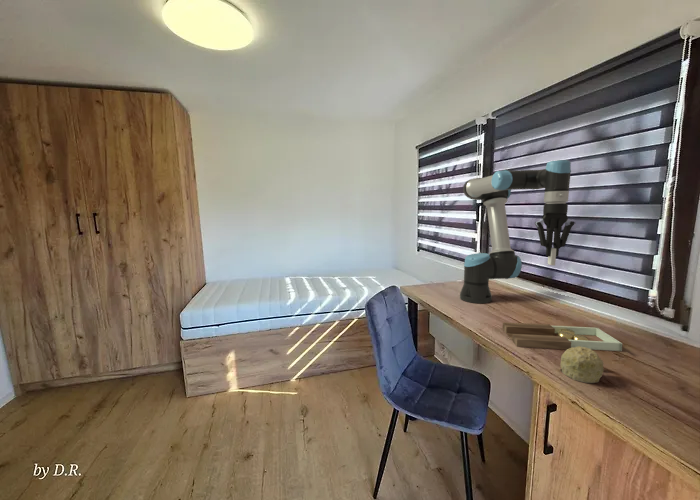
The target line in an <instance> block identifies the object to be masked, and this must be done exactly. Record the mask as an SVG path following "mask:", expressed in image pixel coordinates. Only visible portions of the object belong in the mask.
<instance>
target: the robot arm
mask: <svg viewBox="0 0 700 500" xmlns="http://www.w3.org/2000/svg"><path fill="white" fill-rule="evenodd" d="M571 163H572V162H571V161H570V160H569V159H560V160H550V161H548V162H547V163H546V166H545V168H543V169H528V170H527V169H523V170H506V169H505V170H497V171H495V172H494V174H492V175H489V176H484V177H476V178H471V179H469V180H466V182H465V183H464V185H463V188H462V191H463V194H464V196H465V197H467V198H468V199H470V200H475V201H482V203H483V206H485V207H486V210H487V219H488V227H489V236H490V243H491V251H490V252H489V253H486V252H483V253H482V252H477V253H471V254H467V256H465V257H464V263H463V266H464V267H463V271H464V272H463V276H464V277H463V286H462V288H461V291H460V293H459V299H460V300H462V301H463V302H467V303H472V304H487V303H488V304H489V303H491V302H492V301H493V296H492V293H491V289H490V286H489V280H503V279H504V280H509V279H515V278H517V277H518V276H519V275H520V273H521V272H522V264H523V263H522V260H521V258H520V256H519V255H516V252H515V250H514V249H512V248H511V247H512V246H511V239H510V234H509V227H508V226H509V225H508V218H507V211H506V203H507V202H508V199H509V198H510V197H511V195H512V194H511V193H512V190H533V191H534V190H537V191H538V190H541V189H544V195H543V203H544V204H543V210H542V217H541V219H540V220H538V221H535V222H534V225H535V226H536V228H537V233H538V237H539V243H540V246H541V247H544V248H545V256H546V257H547V265H549V266H556V259H557V257H559V252H560V251H559V250H560V249H561V248H563V247H565V246H566V245H567V244H566V243H567V241H568V237H569V235H570V233H571V229H572V227H573V226H574V225H575V223H576V222H575V221H572V220H570V219H569V217H568V207H569V204H568V202H569V197H570V196H569V193H570V183H571V182H570V181H571V173H572V170H571V167H572V166H571ZM544 226H546V229H545V228H544ZM563 226H564V227H563ZM562 227H563V228H562ZM562 229H563V230H562ZM545 230H546V233H545Z"/></svg>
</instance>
